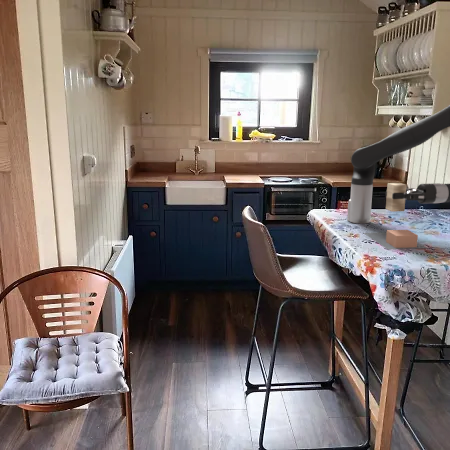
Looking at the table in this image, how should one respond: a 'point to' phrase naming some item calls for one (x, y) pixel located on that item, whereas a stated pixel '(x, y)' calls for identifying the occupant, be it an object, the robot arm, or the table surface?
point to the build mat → (381, 240)
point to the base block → (401, 238)
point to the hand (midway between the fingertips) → (389, 194)
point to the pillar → (392, 203)
